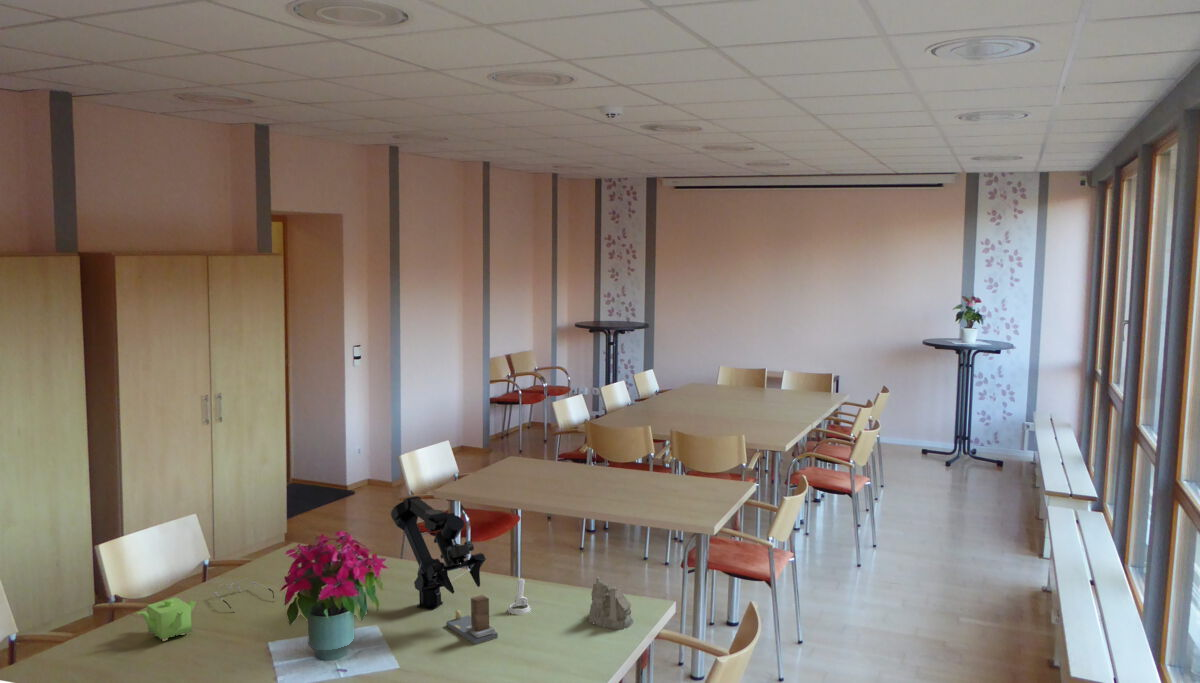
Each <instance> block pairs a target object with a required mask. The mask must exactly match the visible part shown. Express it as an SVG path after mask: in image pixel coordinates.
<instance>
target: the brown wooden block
mask: <svg viewBox="0 0 1200 683" xmlns="http://www.w3.org/2000/svg"><path fill="white" fill-rule="evenodd" d="M470 617H471V626H467V627H466V631H468V632H469V633H471V634H472V635H474V636H476V637H477V638H479V637H482V636H486V635H489V634H492V633H495V632H496V631H495V628H494V627H492V626H490V600H489V597H487V596H485V595H483V594H480V595H476V596H472V597H470Z"/></svg>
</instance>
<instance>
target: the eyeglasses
mask: <svg viewBox="0 0 1200 683" xmlns="http://www.w3.org/2000/svg"><path fill="white" fill-rule="evenodd" d="M243 580H250V581H251V587H253V586H254V585H257V586H260V587H263V588H265V589H267V590H269V591H270V592H272V599H273V598H274V599H275V594H274V591H273V590H272V589H271V588H270V587H266V586H264V585H262V584H260V583H257V582H256V581H255V582H254V581H252V579H251V578H249V577H245V578H243V579H241V580H239V583H237V582H233V583H231V584H230V585H229V584H227V583H226V585H227V586H228V589H229V591H232V592H233V589H232V585H233V584H235V585H236V587H237V590H238V589H239V590H240V591H241V588H240V583H241V581H243ZM222 585H223V583H221V584H219V585H218V586H217V588H216V591H214V592H213V594H214V595H215V596H216V597H218V598H219V599H220V600H222V602H223V603H225V604H226V605H227V606H228V607H229V609H231V608H232V607H231V605H230V604H229V603H228V602H227V601H226V600H224V599H223V597H222V598H220V597H221V596H220V595H219V594H218V589H219V587H220V586H222ZM239 590H238V591H239ZM229 591H228V592H229Z"/></svg>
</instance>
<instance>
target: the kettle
mask: <svg viewBox="0 0 1200 683" xmlns="http://www.w3.org/2000/svg"><path fill="white" fill-rule="evenodd" d="M196 603H197V602H196V601H191V600H190V602H189V603H187V602H185V601H183V600H181V599H180V598H178V597H172V598H168V599H165V600H160V601H157V602H154V603H150V604H147V605H146V610H147V611H145V610H142V611H138V612H136V614H137V615H141V616H143V618H144V620H145V623H146V626H147V631H148V630H149V631H148V632H150V633H151V632H152V633H151V634H152V635H154V634H155V635H156V636H157V637H156V638H159V639H160V640H161V639H165V638H169V637H170V638H173V637H176V636H179V634H182V633H186V634H187V633H189V632H192V630H193V628H192V612H193V609H194V607H195V605H196ZM175 635H176V636H175ZM170 638H169V639H170Z"/></svg>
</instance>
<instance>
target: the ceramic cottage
mask: <svg viewBox="0 0 1200 683" xmlns="http://www.w3.org/2000/svg"><path fill="white" fill-rule="evenodd" d="M591 601H592V602H591V604H590V609H589V615H588V619H589V620H588V622H590V623H591V622H592V623H594V624H596V625H595V626H597V625H601V626H600V627H602V626H605V627H604V628H607V627H609V628H608V629H612V628H613V629H612V630H625V629H628V628H630V627H631V626H632V625H633V623H634V619H633V617H632V616H631V613H632V610H631V607H632V604H631V603H630V601H629V600H628V599H627V597H626V596H625V594H624V593H623V591H622V590H621V588H618V589H617V587H616V586H611V587H610V588H609V583H604V584H603V582H602V580H600V577H599V576H597V577H596V578H595V582H593V586H592V591H591ZM592 623H591V624H592ZM594 624H593V625H594ZM624 628H625V629H624Z"/></svg>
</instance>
